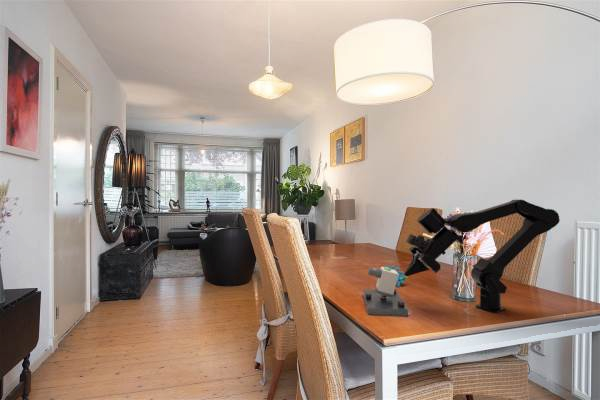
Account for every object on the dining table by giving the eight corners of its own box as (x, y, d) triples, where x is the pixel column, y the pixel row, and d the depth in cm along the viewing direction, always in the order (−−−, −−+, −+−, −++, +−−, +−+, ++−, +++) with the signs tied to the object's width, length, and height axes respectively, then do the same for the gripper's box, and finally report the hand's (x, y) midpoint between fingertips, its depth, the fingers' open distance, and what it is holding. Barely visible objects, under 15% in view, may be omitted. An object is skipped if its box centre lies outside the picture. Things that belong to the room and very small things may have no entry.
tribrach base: (396, 296, 116) (396, 287, 116) (408, 316, 96) (408, 305, 96) (363, 294, 117) (363, 286, 117) (368, 314, 97) (368, 304, 97)
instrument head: (391, 292, 109) (397, 269, 109) (394, 298, 103) (400, 273, 103) (364, 285, 110) (370, 261, 110) (365, 290, 104) (371, 265, 104)
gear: (380, 283, 127) (381, 262, 134) (378, 290, 132) (378, 269, 139) (408, 287, 126) (407, 266, 133) (405, 294, 130) (404, 274, 137)
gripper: (415, 223, 114) (383, 253, 116) (429, 228, 96) (392, 263, 97) (437, 245, 113) (405, 275, 115) (456, 255, 95) (418, 290, 96)
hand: (405, 275), depth 106 cm, fingers closed
